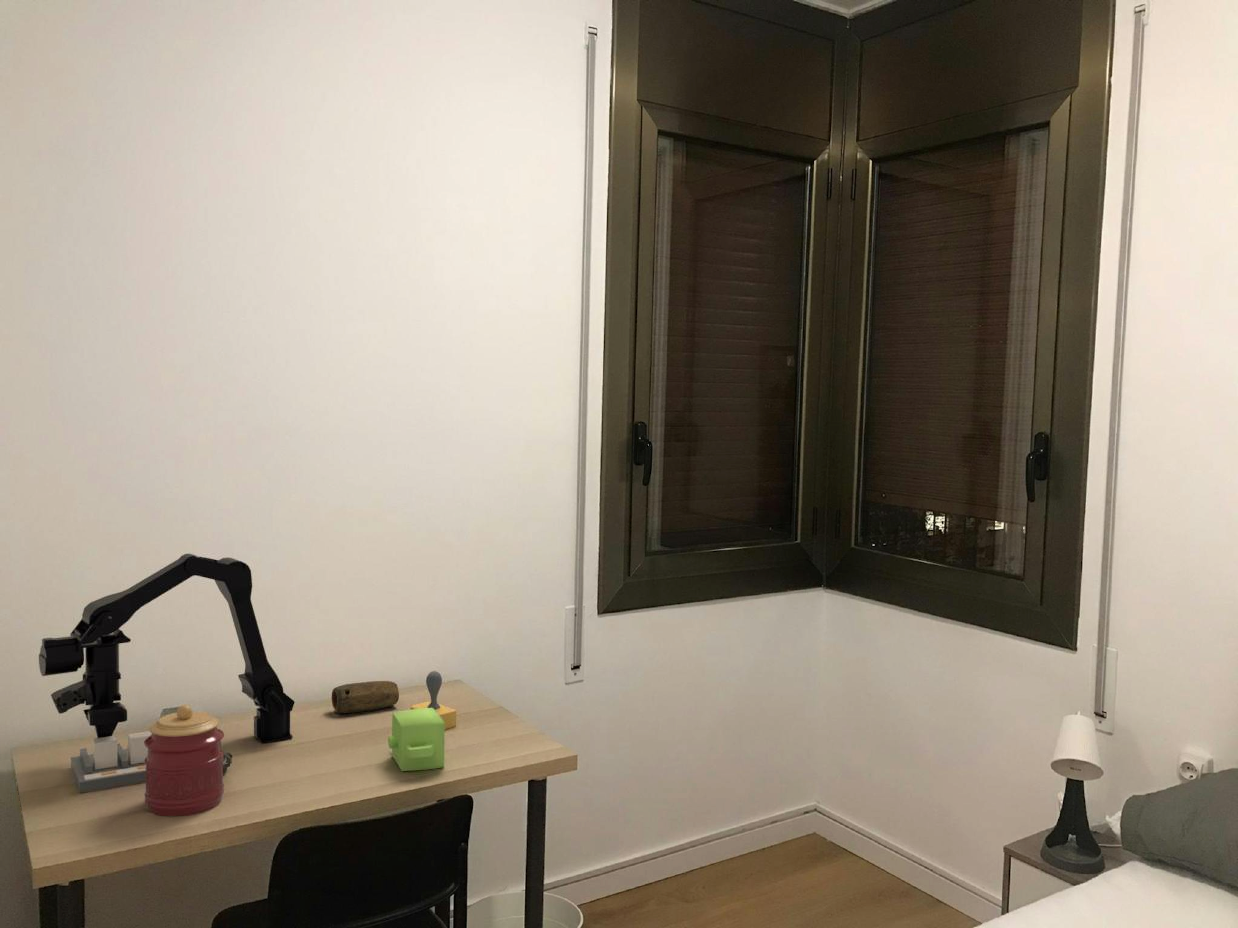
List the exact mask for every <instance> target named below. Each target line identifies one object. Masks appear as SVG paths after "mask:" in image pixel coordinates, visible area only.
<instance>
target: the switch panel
mask: <svg viewBox="0 0 1238 928" xmlns="http://www.w3.org/2000/svg"><path fill="white" fill-rule="evenodd" d="M117 764H118V766H115V767H109V768H103V769H97V770H95V769H94V766H93V753H92V754H89V753H88V751H87V748H82V749H81V748H80V749H79V756H72V757H70V769H71V772H72V775H73V777H74V780H75V784H76V787H77V790H78V793H79V794H83V793H84V794H85V793H90V792H97V791H101V790H106V789H113V788H118V787H119V788H120V787H125V786H130V785H136V784H143V783H146V764H145V762H144V763H138V764H132V765H131V764H130V762H129V760H128V748H126V749H125V748H124V749H123V747H122V745H121V743H117Z"/></svg>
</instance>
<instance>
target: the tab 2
mask: <svg viewBox="0 0 1238 928" xmlns="http://www.w3.org/2000/svg"><path fill="white" fill-rule="evenodd" d="M151 734H152V733H151V732H150V730H147V731H141V732H140V731H139V732H136V733H129V734H128V735H127V749H128V760H129V762H130V764H131V765H132V764H138V763H144V762H145V758H146V757H147V754H148V748H147V747H146V746H145V744H144V741H145V739H146V738H147V737H148V736H150V735H151Z"/></svg>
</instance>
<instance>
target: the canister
mask: <svg viewBox="0 0 1238 928" xmlns="http://www.w3.org/2000/svg"><path fill="white" fill-rule="evenodd" d="M219 723H220V722H219V719H218V718H217V717H215V716H212V715H210V713H208V712H205V711H199V710H193V708H192V707H191V706H190V705H188V704H182V705H180V706H179V707H178V708H177V710H176V712H172V713H169V714H165V715H163V716H162V717H160V718H159V719H158V720H156V721H155V722H153V723H152V724H150V726H149V731H150V733H151V735H150V736H148V737H147V738H146V739H145V741H144V744H145V746H146V747H147V748H148V754H147V757H146V758H145V764H146V782H145V792H144V803H145V805H146V806H145V807H146V810H147V811H148V812H150V813H152V814H155V815H157V816H158V815H159V816H167V817H177V816H180V817H181V816H186V815H187V816H189V815H193V814H198V813H202V812H204V811H207V809H208V810H209V809H212V808H214V807H215V806H217V805H219V804H220V803H221V802H222V800H223V794H224V791H225V789H224V787H225V784H224V755H225V754H224V753H225V752H224V750H223V748H222V745H221V743H222V740H223V738H224V736H225V734H224V733H225V732H224V731H223V730H222V729H220V728H218V725H219Z"/></svg>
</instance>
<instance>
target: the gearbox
mask: <svg viewBox="0 0 1238 928" xmlns="http://www.w3.org/2000/svg"><path fill="white" fill-rule="evenodd" d="M391 715H392V716H391V717H392V719H391V720H392V721H391V723H392V724H391V730H392V731H391V734H389V735H388V737H387V743H388V748H389V750H391V755H392V757H393V758H394V761H395V762H396V764H397V766H398V767H399V769H400V770H401V771H402V772H411V771H423V770H424V771H425V770H432V769H439V768H444V767H445V740H446V739H445V738H446V737H445V736H446V735H445V733H446V732H445V731H446V729H445V723H444V721H443V720H442V718H441V717H440V716H439V714H438V713H437V712H436V711H435V710H434V709H433V708H421V709H412V710H411V709H406V710H405V709H404V710H400V711H393V712H392V713H391Z"/></svg>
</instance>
